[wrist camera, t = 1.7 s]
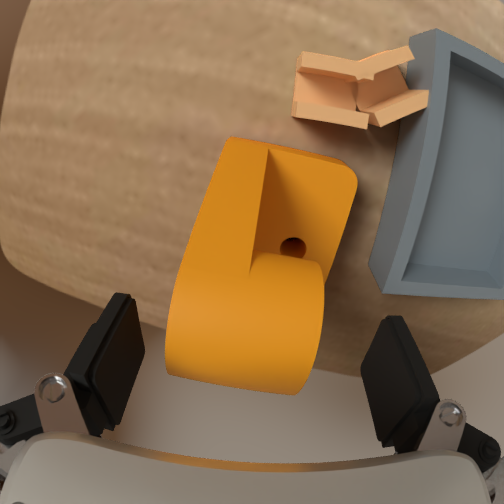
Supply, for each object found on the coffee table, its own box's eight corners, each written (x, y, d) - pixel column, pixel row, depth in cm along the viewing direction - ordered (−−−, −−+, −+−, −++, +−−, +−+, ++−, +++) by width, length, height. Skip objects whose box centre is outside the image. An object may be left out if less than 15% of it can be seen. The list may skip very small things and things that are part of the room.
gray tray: (530, 98, 13) (559, 104, 10) (484, 276, 20) (503, 299, 17) (409, 37, 13) (436, 28, 10) (367, 264, 21) (382, 293, 17)
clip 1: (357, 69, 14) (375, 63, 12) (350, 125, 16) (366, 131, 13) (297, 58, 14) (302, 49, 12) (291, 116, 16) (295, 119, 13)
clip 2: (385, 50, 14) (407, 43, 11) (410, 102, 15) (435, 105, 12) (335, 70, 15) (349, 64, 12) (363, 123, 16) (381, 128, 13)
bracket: (306, 300, 22) (322, 448, 12) (210, 283, 22) (169, 429, 12) (349, 160, 17) (450, 257, 7) (232, 134, 17) (169, 197, 7)
